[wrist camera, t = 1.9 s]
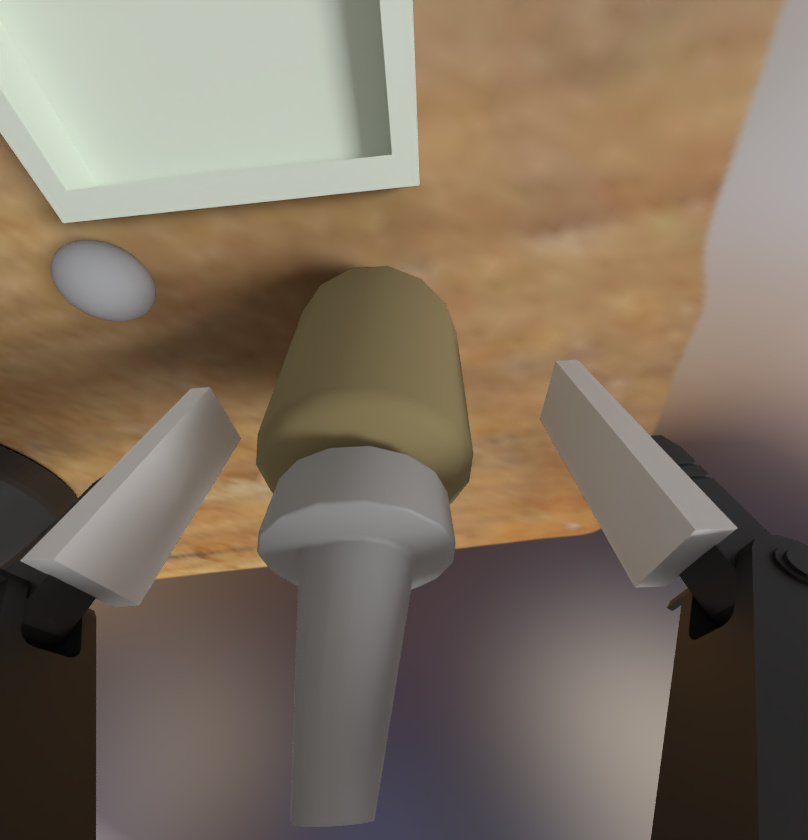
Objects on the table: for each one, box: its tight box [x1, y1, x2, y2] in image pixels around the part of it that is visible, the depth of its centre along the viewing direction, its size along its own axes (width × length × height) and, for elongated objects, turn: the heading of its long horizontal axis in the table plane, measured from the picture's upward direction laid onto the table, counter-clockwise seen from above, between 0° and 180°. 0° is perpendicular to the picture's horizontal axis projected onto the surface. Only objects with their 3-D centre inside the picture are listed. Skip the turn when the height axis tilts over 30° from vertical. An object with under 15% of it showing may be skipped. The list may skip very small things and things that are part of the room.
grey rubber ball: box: [51, 240, 156, 321], centre depth 14 cm, size 4×4×4 cm
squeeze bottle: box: [256, 266, 473, 827], centre depth 11 cm, size 8×8×18 cm
